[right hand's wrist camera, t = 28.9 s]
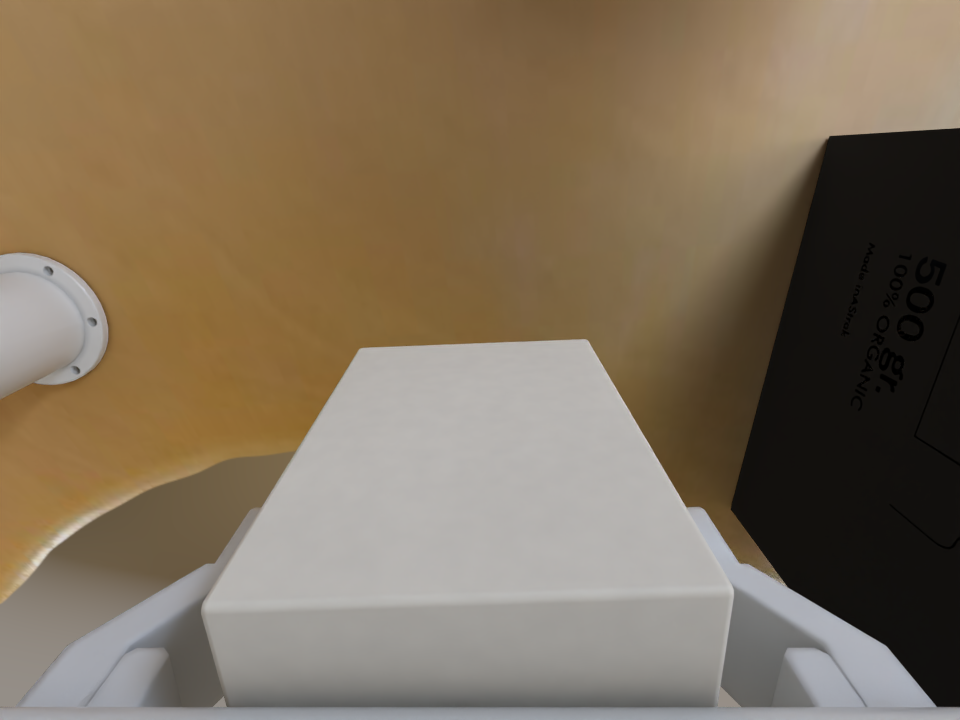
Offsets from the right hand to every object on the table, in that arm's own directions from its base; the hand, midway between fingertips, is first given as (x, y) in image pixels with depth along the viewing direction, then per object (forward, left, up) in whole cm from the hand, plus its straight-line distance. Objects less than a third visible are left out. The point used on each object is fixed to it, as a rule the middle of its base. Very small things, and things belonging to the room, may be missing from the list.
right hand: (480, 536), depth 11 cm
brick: (0, 0, -4) cm, 4 cm away
